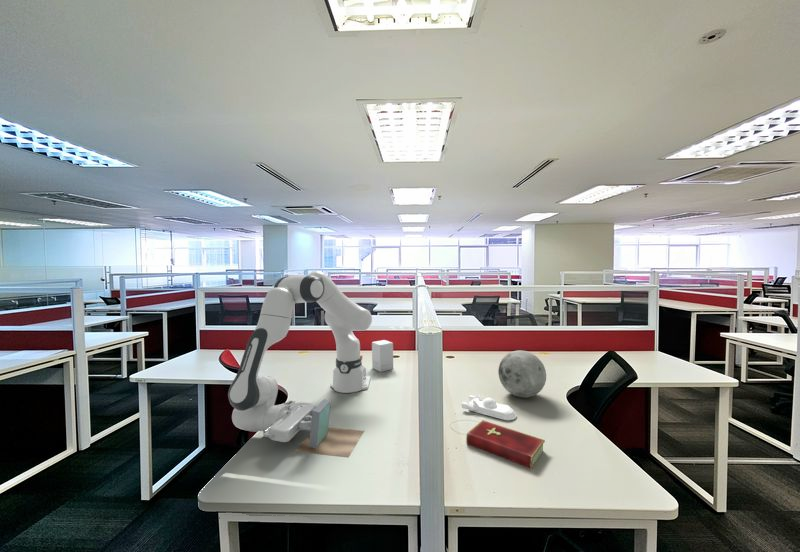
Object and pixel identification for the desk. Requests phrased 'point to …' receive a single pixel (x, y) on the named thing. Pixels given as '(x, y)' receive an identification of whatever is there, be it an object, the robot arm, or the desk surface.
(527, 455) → the hardcover book
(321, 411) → the slate tile
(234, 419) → the robot arm
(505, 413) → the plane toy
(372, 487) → the desk surface
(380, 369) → the supplement box
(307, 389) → the desk surface
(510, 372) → the decorative sphere
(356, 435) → the cork mat
